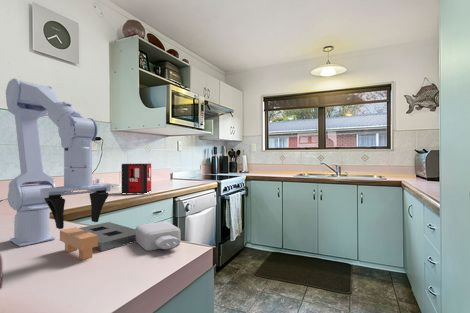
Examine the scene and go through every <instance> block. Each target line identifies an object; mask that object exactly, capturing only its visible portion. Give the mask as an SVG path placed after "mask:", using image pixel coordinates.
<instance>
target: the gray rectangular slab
mask: <svg viewBox="0 0 470 313" xmlns="http://www.w3.org/2000/svg"><path fill="white" fill-rule="evenodd" d="M78 228H79V229H82V230H85V231H87V232H90V233H93V234H96V235H98V246H97V247H93V248H92V249H94V250H97V251H99V252H104V250H105V251H108V250H111V249H110V248H112V249H114V248H113V247H116V248H118V247H117V246H119V247H121V246H120V245H123V244H126V245H128V244H127V243H130V242H133V243H135V242H134V241H136V228H131V227H127V226H124V225H121V224H118V223H115V222H114V223H113V222H111V221H108V222H101V223H98V224H93V225H87V226H82V227H81V226H80V227H78ZM130 244H131V243H130ZM123 246H124V245H123ZM107 249H108V250H107Z"/></svg>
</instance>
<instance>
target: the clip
mask: <svg viewBox="0 0 470 313" xmlns="http://www.w3.org/2000/svg"><path fill="white" fill-rule="evenodd" d="M79 228H80V227H75V226H74V227H69V228H66V229H65V228H63V229H59V241H60V242H62V243H64V251H65V252H67V253H72V252H76V251H78V258H79V259H80V260H82V261H85V260H87V259H91V258H93V249H94V248H93V247H97V246H98V235H96V234H93V233H90V232H87V231H85V230H82V229H79Z"/></svg>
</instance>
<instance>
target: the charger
mask: <svg viewBox="0 0 470 313" xmlns="http://www.w3.org/2000/svg"><path fill="white" fill-rule="evenodd" d="M135 229H136V241H137V243H138V245H139V246H141V248H142V249H144V250H145V251H146V252H151V251H152V250H153V251H157V249H158V250H160V249H162V250H168V249H172V248H176V246H178V245H180V244H181V239H182V238H181V228H179V227H177V226H176V225H174V224H172V223H170V222H169V221H165V220H164V221H156V222H150V223H143V224H139V225H137V226H136V227H135ZM153 251H152V252H153Z"/></svg>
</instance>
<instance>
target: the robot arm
mask: <svg viewBox="0 0 470 313" xmlns="http://www.w3.org/2000/svg"><path fill="white" fill-rule="evenodd" d="M5 99H6V106H7V111H8V112H9V113H10V114H12V115H13V116H14V120H15V127H16V128H15V130H16V139H17V148H18V150H17V151H18V158H19V166H20V167H19V169H20V174H19V175H18V176H15V177H14V178H13V179H12V180H11V181H10V182H9V183H8V193H7V203H8V205H9V207H10V208H11V209H13V210H14V211H16V213H15V215H14V217H13V218H14V221H13V222H14V225H13V226H14V232H13V233H14V235H13V236H14V237H10V238H9V241H10V242H12V243H13V244H15V245H16V246H18V247H24V246H29V245H34V244H39V243H43V242H47V241H53V240H55V239H56V237H55V236H54V235H51V234H50V229H51V228H50V221H51V220H50V218H51V216H50V213H51V214H52V216H53V219H54V223H55V228H56V229H58V230H64V227H65V226H64V225H65V222H64V211H65V205H66V199H65V198H63V196H64V197H65V196H73V195H83V194H89V200H90V206H91V212H90V216H91V217H90V218H91V222H93V223H99V220H100V216H101V212H102V209H103V207H104V204H105V203H106V201H107V199H108V197H109V192H111V183H98V184H97V183H95V184H93V141H95V140H96V138H97V135H98V125H97V123H96V121H95V119H94V118H91V117H88V118H85V117H84V116H83V115H81V114H82V113H80V112H79V111H78V110H76V109H75V108H74V107H73V106H72V105H73V104H72V103H71V102H69V101H60V99H59V98H58V97H57V91H56V89H55V88H53V87H52V86H49V85H42V84H38V83H33V82H29V81H25V80H20V79H18V78H11V79H10V80H9V81H8V83H7V85H6V89H5ZM46 116H48V118H49V119H50V120H51V122H53V123H54V125H55V126H56V127H57V128H58V129H57V130H58V131H57V132H58V136H59V138H60V145H61V148H63V185H62V186H56V184H55V180H54V178H53V177H52V176H50V175H49V174H47V173H46V172H44V167H43V158H42V149H41V143H40V141H41V140H40V133H39V124H38V119H39V118H43V117H46Z"/></svg>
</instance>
